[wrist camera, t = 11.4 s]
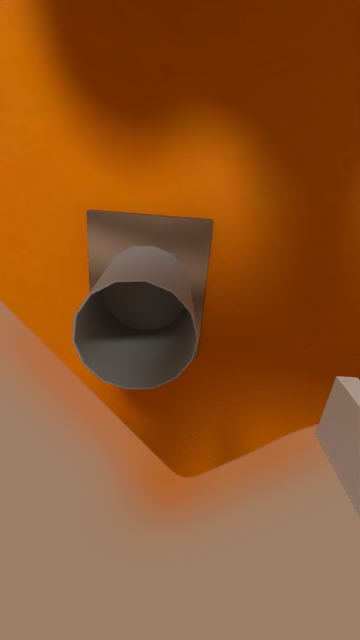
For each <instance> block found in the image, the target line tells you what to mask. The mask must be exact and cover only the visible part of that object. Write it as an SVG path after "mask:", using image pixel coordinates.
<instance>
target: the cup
mask: <svg viewBox="0 0 360 640" xmlns="http://www.w3.org/2000/svg"><path fill="white" fill-rule="evenodd" d="M198 338H199V336H198V330H197V324H196V318H195V313H194V307H193V301H192V295H191V290H190V285H189V281H188V277H187V273H186V270H185V268H184V267H183V266H182V265H181V264H180V263H179V261H178V260H177V259H176V258H175V257H174V255H173V254H170V253H168V252H166V251H164V250H162V249H159V248H157V247H155V246H133V247H131V248H129V249H127V250H125V251H123V252H121V253H120V254H118V255H116V256H115V257H114V258H113V260H112V261H111V262H110V264H109V265H108V267H107V268H106V270H105V271H104V273H103V274H102V276H101V277H100V278H99V280H98V281H97V283H96V284H95V286H94V287H93V289H92V290H91V292H90V293H89V295H88V296H87V298H86V299H85V300H84V302H83V303H82V305H81V306H80V308H79V309H78V311H77V312H76V314H75V315H74V326H73V338H72V341H73V343H74V346H75V348H76V350H77V352H78V355H79V357H80V359H81V361H82V364H83V365H84V366H86V367H87V368H88V369H89V370H90V371H91V372H92V373H94V374H95V375H96V376H97V377H98V378H99V379H100V380H102V381H104V382H107V383H109V384H112V385H115V386H118V387H121V388H124V389H127V390H131V389H154V388H156V387H158V386H161V385H163V384H165V383H168V382H170V381H172V380H175V379H176V378H177V377H178V376H179V375H180V374H181V373H182V372H183V371H184V370H185V369H186V367H187V366H188V365H189V364H190V363H191V362H192V361H193V357H194V353H195V350H196V346H197V342H198Z"/></svg>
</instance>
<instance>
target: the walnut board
mask: <svg viewBox="0 0 360 640" xmlns="http://www.w3.org/2000/svg"><path fill="white" fill-rule="evenodd" d="M212 229H213V220H212V219H200V218H187V217H175V216H162V215H150V214H137V213H124V212H112V211H99V210H88V211H87V234H88V258H89V282H90V292H91V290H92V289H93V287H94V286H95V284H96V283H97V281H98V280H99V278H100V277H101V276H102V274H103V273H104V271H105V270H106V268H107V267H108V265H109V264H110V262H111V261H112V260H113V258H114V257H115V256H116V255H118V254H120V253H121V252H123V251H125V250H127V249H129V248H131V247H133V246H155V247H157V248H159V249H162V250H164V251H166V252H168V253H170V254H173V255H174V257H175V258H176V259H177V260H178V261H179V263H180V264H181V265H182V266H183V267H184V268H185V270H186V273H187V277H188V281H189V285H190V290H191V295H192V301H193V307H194V313H195V318H196V324H197V330H198V336H199V338H198V342H197V346H196V350H195V353H194V357H193V358H197V356H198V348H199V339H200V331H201V323H202V314H203V306H204V297H205V289H206V280H207V272H208V263H209V255H210V246H211V238H212Z"/></svg>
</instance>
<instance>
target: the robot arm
mask: <svg viewBox="0 0 360 640" xmlns="http://www.w3.org/2000/svg"><path fill="white" fill-rule="evenodd" d="M315 434H316V436H317V438H318V440H319V442H320V444H321V445H322V447H323V449H324V451H325V453H326V455H327V457H328V459H329V461H330V462H331V465H332V466H333V468H334V470H335V472H336V474H337V476H338V478H339V480H340V482H341V483H342V485H343V487H344V489H345V491H346V493H347V495H348V497H349V499H350V500H351V502H352V504H353V506H354V508H355V510H356V512H357V514H358V516H359V518H360V380H359V379H358V378H357V377H340V376H336V378H335V381H334V384H333V387H332V389H331V392H330V395H329V398H328V400H327V403H326V406H325V408H324V411H323V414H322V417H321V419H320V422H319V425H318V428H317V430H316V433H315Z"/></svg>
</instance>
